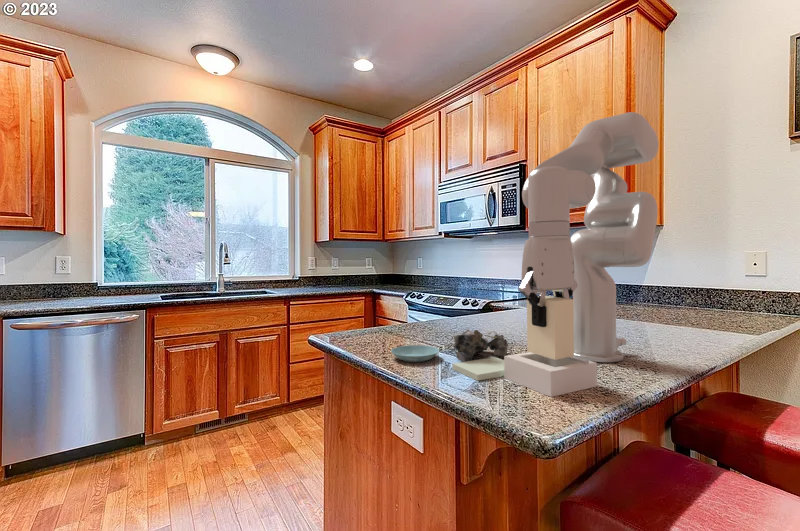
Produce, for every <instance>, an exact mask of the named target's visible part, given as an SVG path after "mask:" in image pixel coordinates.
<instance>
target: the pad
mask: <svg viewBox="0 0 800 531" xmlns="http://www.w3.org/2000/svg"><path fill="white" fill-rule="evenodd" d="M451 367H452V368H451V369H452V370H454V371H456V372H458V373H459V374H462V375H464V376H467V377H469V378H470V377H471V378H470V379H473V380H474V381H477V382H479V381H484V380H488V379H490V380H491V379H494V378H495V379H496V378H501V377H504V359H501V358H499V357H496V356H494V357H487V358H479V359H474V360H471V361H467V362H462V361H460V362H454V363H452V366H451Z"/></svg>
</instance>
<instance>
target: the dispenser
mask: <svg viewBox="0 0 800 531" xmlns="http://www.w3.org/2000/svg"><path fill="white" fill-rule="evenodd" d="M503 360H504V376H503V377H504V379H505V380H509V381H511V382H513V383H516V384H518V385H521V386H522V387H526V388H528V389H531V390H533V391H535V392H537V393H540V394H543V395H545V396H548V397H550V398H552V397H556V396H561V395H562V396H563V395H566V394H571V393H574V392H578V391H584V390H588V389H591V388H596V387H597V386H598V372H597V371H598V362H593V361H588V360H584V359H581V358H577V357H573V356H572V357H566V358H561V359H556V360H554V359H551V358H548V357H544V356H541V355H538V354H535V353H531V352H528V351H526V352H522V353H516V354H508V355H506V356H503Z"/></svg>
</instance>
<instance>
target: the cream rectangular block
mask: <svg viewBox="0 0 800 531" xmlns="http://www.w3.org/2000/svg"><path fill="white" fill-rule="evenodd" d="M537 296H538V297H539V295H537ZM543 306H546V327H540V326H535V325H532V305H530V304H529V301H528V300H527V299H526V332H527V333H526V334H527V336H526V337H527V340H526V343H527V351H526V352H531V353H535V354H538V355H541V356H544V357H548V358H551V359H554V360H556V359H561V358H566V357H572V356H574V306H573V298H570V299H568V298H560V297H554V296H549V295H546V296H545V301H544V305H543Z"/></svg>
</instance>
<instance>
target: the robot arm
mask: <svg viewBox="0 0 800 531" xmlns="http://www.w3.org/2000/svg"><path fill="white" fill-rule="evenodd" d="M658 152H659V139H658V135H657V133H656V131H655V129H654V128H653V127H652V125H651V124H650V123H649V121H648V120H647V119H646V118H645V117H644V116H643V115H642V114H640V113H638V112H633V111H628V112H625V113H621V114H616V115H612V116H607V117H604V118H603V117H602V118H599V119H596V120H592V121H591V122H590V121H589V123H587V124H585V125H584V126H583V127H582V128H581V130H580V131H579V133H578V134H577V135H576V137H575V138H574V140H573V141H572V142H571V144H570V145H569V147H567V148H565V149H563V150H561V151H560V152H558V153H556V154H555V155H553V156H551V157H549V158H548V159H546V160H544V161H542V162H541V163H540V164H538V165H537V166H536V167H535V168H534V169H533V170H532V171H531V172H530V173H529V174H528V177H527V178H526V180H525V181H524V184H523V187H522V191H521V197H522V198H521V199H522V203H523V205H524V206H525V207H526V209H527V210H528V239H526V240H525V242H524V247H523V253H522V262H521V284H520V286H519V287H518V291H519V292H520V293H521V294H522V295H523V296H524V297H525V299H526V301H527V300H528V301H529V304H530V305H532V325H535V326H540V327H546V306H543V305H544V301H545V296H547V291H552V293H553V297H560V298H568V299H571V297H572V299H573V306H574V356H573V357H577V358H581V359H584V360H588V361H592V362H596V363H615V362H621V361H623V360H624V353H623V352H621V351H619V347H622V346H623V347H624V346H626V345H627V339H626V338H624V337H619V338H618V337H617V286H616V285H617V284H616V282H615V281H614V279H613V278H612V276H611V274H609V273H608V271H607V270H606V269H605V268H633V267H634V268H638V267H642V266H645V265H646V264H647V263H648V262H649V261H650V258H651V255H652V250H653V245H654V239H655V235H656V234H655V233H656V228H657V221H658V204H657V201H656V198H655V197H654V195H653V194H652V193H649V192H647V191H634V192H628V187H629V186H628V184H627V182H626V180H625V179H624V178H623V177H622V176H621V175H619V174H618V173H617V172H615V171H613V170H612V169H614V168H620V167H626V166H634V165H641V164H644V163H648V162H651V161H652V160H654V159H655V158H656V156H657V154H658ZM585 206H586V207H585ZM582 207H585V210H584V216H583V224H584V225H585V228H583V229H580V230H577V231H575V232H574V233H572V234H571V224H570V222H571V219H570V218H571V217H570V210H571V209H578V208H582ZM538 296H539V297H538Z"/></svg>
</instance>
